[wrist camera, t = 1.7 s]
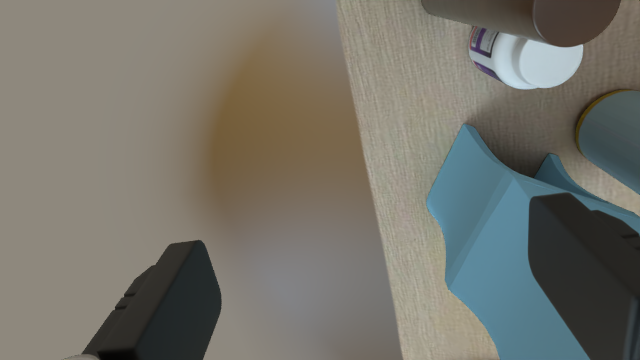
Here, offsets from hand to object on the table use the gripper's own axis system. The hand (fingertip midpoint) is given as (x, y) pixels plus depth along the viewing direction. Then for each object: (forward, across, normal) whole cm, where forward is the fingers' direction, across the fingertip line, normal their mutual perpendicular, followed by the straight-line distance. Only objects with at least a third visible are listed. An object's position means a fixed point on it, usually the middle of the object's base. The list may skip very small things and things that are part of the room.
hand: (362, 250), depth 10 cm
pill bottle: (+29, -13, 0) cm, 32 cm away
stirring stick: (+29, -8, -4) cm, 31 cm away
